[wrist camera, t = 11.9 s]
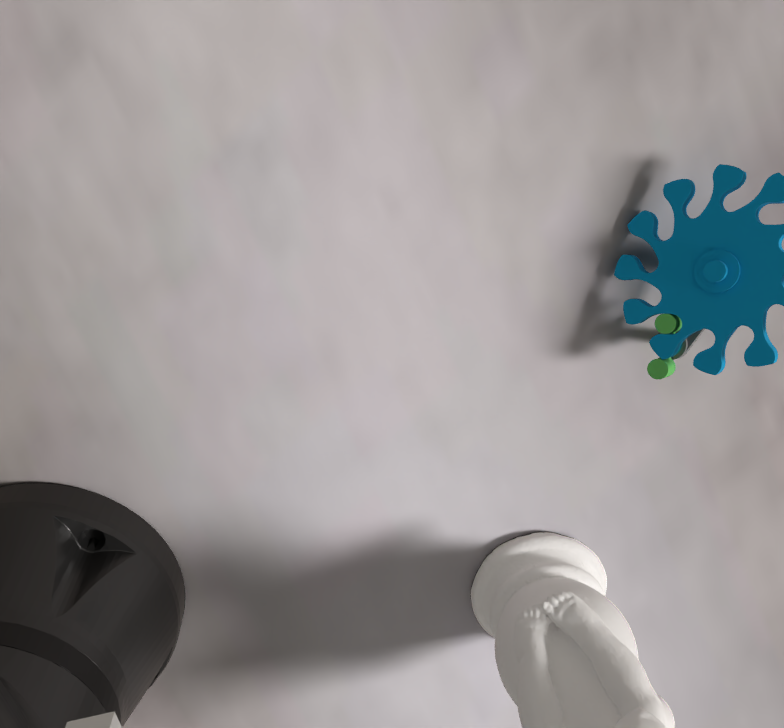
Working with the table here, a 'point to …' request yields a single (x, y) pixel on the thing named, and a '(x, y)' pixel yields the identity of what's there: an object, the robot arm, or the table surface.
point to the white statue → (562, 638)
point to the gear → (710, 274)
